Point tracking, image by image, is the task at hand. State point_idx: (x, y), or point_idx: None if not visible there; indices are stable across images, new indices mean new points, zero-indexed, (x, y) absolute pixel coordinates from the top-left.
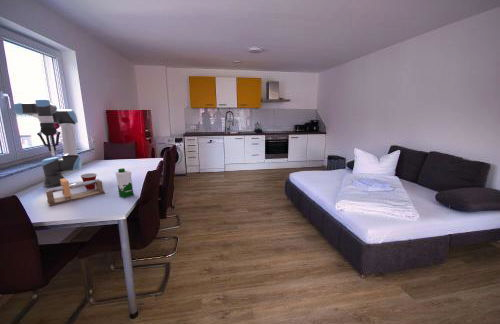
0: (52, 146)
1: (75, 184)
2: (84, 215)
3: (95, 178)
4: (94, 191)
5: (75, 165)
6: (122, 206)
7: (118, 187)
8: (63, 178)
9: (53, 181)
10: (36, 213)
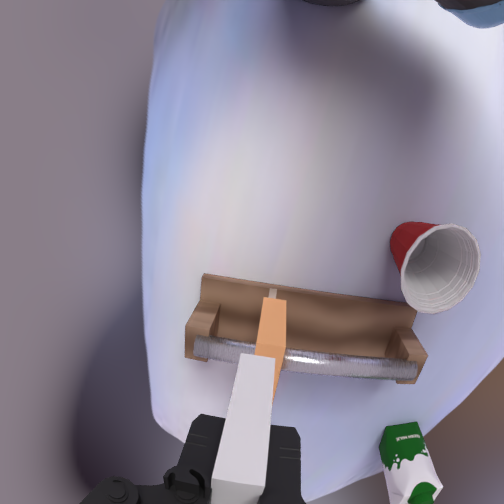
0: (257, 488)
1: (309, 373)
2: None
3: (452, 278)
4: (377, 338)
5: (471, 17)
6: (328, 482)
7: (386, 460)
8: (276, 345)
9: None
10: (157, 368)
